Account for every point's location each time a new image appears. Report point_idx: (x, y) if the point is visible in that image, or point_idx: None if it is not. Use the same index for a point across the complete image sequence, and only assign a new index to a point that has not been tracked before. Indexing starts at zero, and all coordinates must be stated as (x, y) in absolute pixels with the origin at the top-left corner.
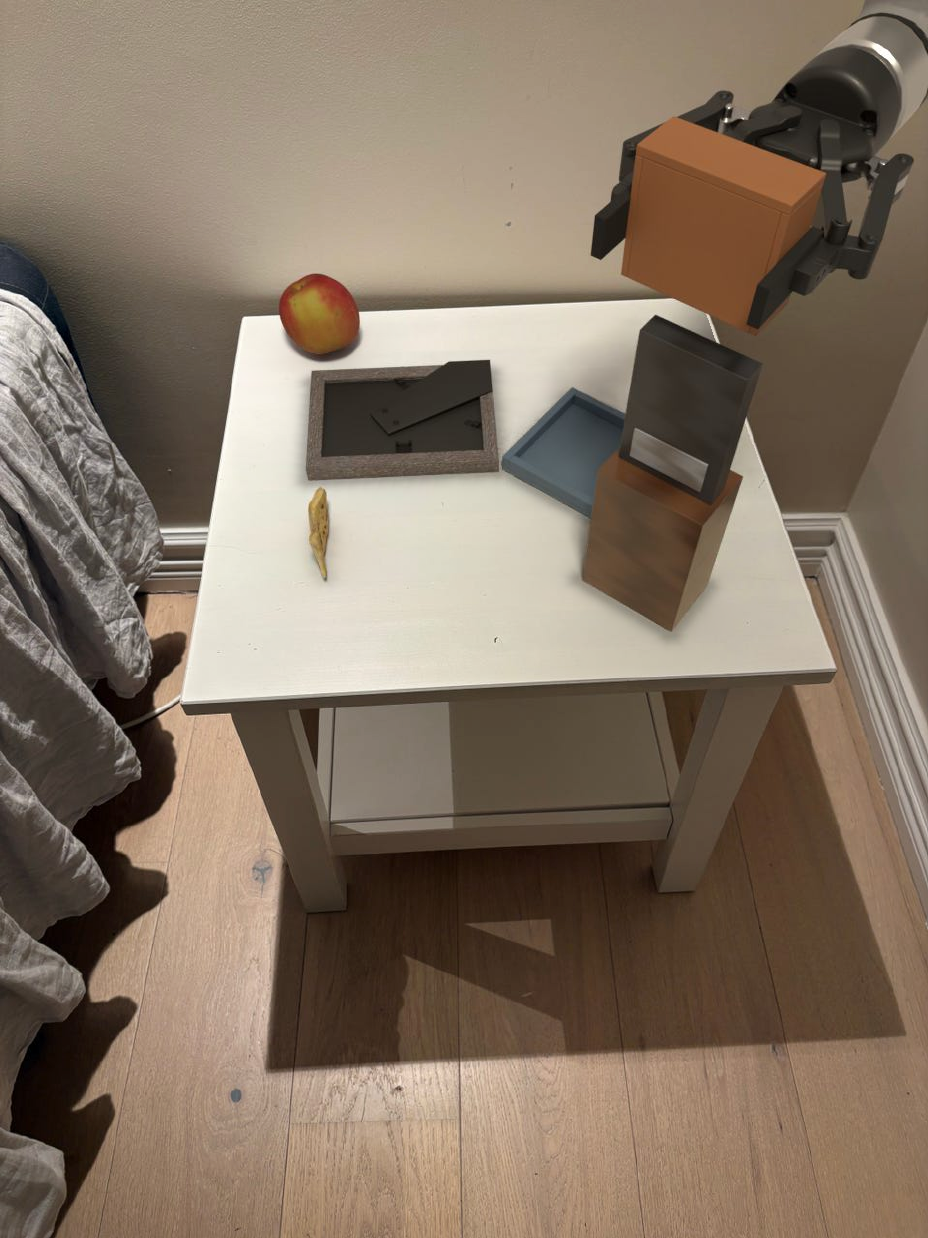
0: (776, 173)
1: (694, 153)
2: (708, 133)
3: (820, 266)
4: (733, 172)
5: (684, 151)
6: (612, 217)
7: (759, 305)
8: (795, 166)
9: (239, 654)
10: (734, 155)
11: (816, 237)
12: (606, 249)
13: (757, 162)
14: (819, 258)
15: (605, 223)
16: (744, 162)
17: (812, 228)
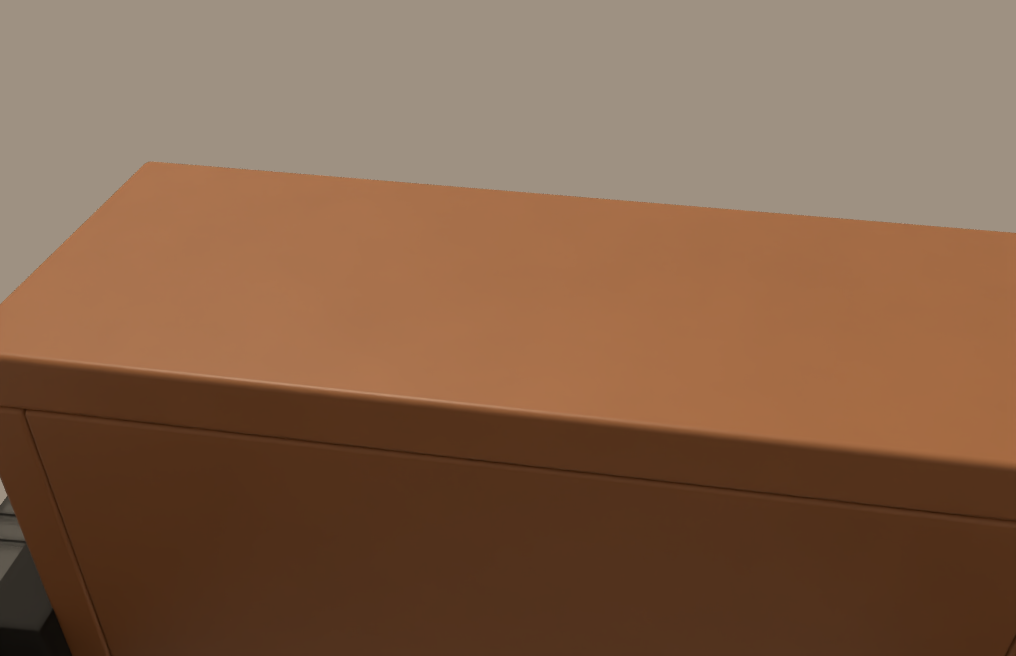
0: (257, 269)
1: (731, 258)
2: (799, 404)
3: (5, 515)
4: (474, 224)
5: (788, 261)
6: None
7: None
8: (154, 334)
9: None
10: (532, 306)
11: (17, 568)
12: None
13: (386, 307)
14: (6, 555)
15: None
16: (454, 284)
17: (37, 612)
